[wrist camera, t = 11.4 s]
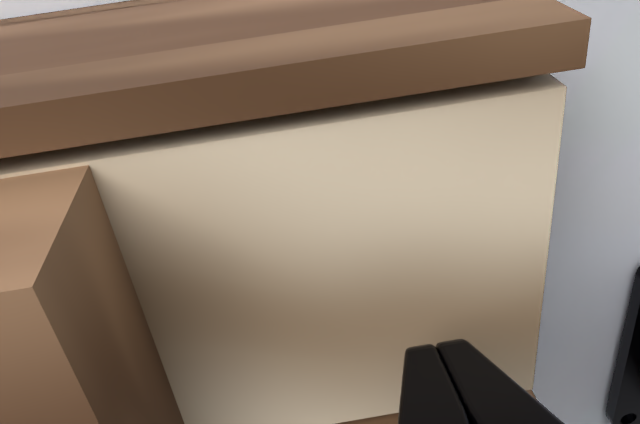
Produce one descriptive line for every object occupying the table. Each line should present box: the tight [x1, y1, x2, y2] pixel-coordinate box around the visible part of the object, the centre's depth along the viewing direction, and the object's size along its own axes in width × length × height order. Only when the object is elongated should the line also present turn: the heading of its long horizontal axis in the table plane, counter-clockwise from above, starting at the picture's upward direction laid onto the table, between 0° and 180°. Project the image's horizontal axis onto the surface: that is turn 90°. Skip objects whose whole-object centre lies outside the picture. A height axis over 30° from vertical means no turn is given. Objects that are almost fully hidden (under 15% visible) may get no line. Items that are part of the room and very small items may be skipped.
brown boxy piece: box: [0, 0, 591, 424], centre depth 11 cm, size 8×14×5 cm, turn 97°
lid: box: [0, 74, 567, 424], centre depth 8 cm, size 6×14×3 cm, turn 97°
